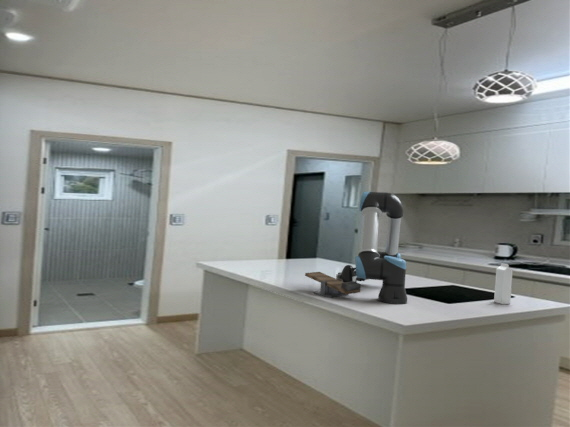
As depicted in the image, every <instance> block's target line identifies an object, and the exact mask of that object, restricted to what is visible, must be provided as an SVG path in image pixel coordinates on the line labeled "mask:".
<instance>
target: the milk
mask: <svg viewBox="0 0 570 427" xmlns="http://www.w3.org/2000/svg"><path fill="white" fill-rule="evenodd" d="M513 272H514V271H513V269H512V268H510V265H509V264H508V263H503V262H501V263H500V265H499V266H498V267H496V269H495V281H494V282H495V284H494V296H493V297H494V298H493V302H494V303H498V304H500V305H511V298H512V287H513V286H512V283H513V274H514V273H513Z"/></svg>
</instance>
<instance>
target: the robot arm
mask: <svg viewBox="0 0 570 427" xmlns="http://www.w3.org/2000/svg"><path fill="white" fill-rule="evenodd" d="M359 211H360V212H361V214H362V215H363V226H362V237H361V248H360V249H361V251H360V252H358V254H357V256H355V267H356V270H354V271H355V274H356V276H354V277H352V281H354V282H355V281H357V282H365V281H367V280H375V281H382V285H381V288H380V290H379V293H378V295H377V296H378V297H377V300H378V301H380V302H383V303H386V304H387V303H388V304H396V305H397V304H398V305H400V304H401V305H402V304H407V303H408V295H407V290H406V274H407V273H406V271H407V262H406V261H407V260H405V259H403V258H402V257H401V256H402V255H401V253H399V245H400V244H399V242H400V235H401V234H400V233H401V232H400V230H401V221H402V219H403V217H404V206H403V203H402V201H401V200H400V198H399V197H398V196H397V195H395V194H394V193H391V192H388V191H387V192H384V191H383V192H381V191H371V190H369V191H364V192H362V194H361V198H360V202H359ZM383 213H386V217H387V223H386V224H387V226H386V235H385V236H386V237H385V239H386V240H385V247H384V248H385V249H384V250H385V251H378V246H379V245H378V243H379V225H380V217H381V216H383ZM341 273H342V271H341V272H337V274H336V276H335V279H340V275H341Z"/></svg>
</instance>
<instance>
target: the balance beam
mask: <svg viewBox="0 0 570 427" xmlns="http://www.w3.org/2000/svg"><path fill="white" fill-rule="evenodd" d="M304 276H306V277H307V278H310V279H311V280H314V281H315V282H318V283H320V284H321V281H322V280H323V281H327V286H329V287H331V288H333V289H336V290H338V291H340V292H342V293H345V294H348V295H350V294H356V293H357V294H359V293H361V286H362V285H361V284H362V283H358V281H357V282H354V281H351V282H342V281H340V280H338V279H336V277H332V276H330V275H328V274H326V273H323V272H321V271H315V272H314V271H312V272H305V274H304Z"/></svg>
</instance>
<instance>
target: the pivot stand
mask: <svg viewBox="0 0 570 427" xmlns="http://www.w3.org/2000/svg"><path fill="white" fill-rule="evenodd" d="M338 280H340V281H342V282H343V279H338ZM313 294H314V295H317V296H321V297H326V298H330V299H333V298H339V297H340V296H341V297H346V296H349V294H345V293H342V292H340V291H338V290H336V289H333V288H331V287H329V286H327V281H323V280H322V281H321V283H320V291H314V292H313Z"/></svg>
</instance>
